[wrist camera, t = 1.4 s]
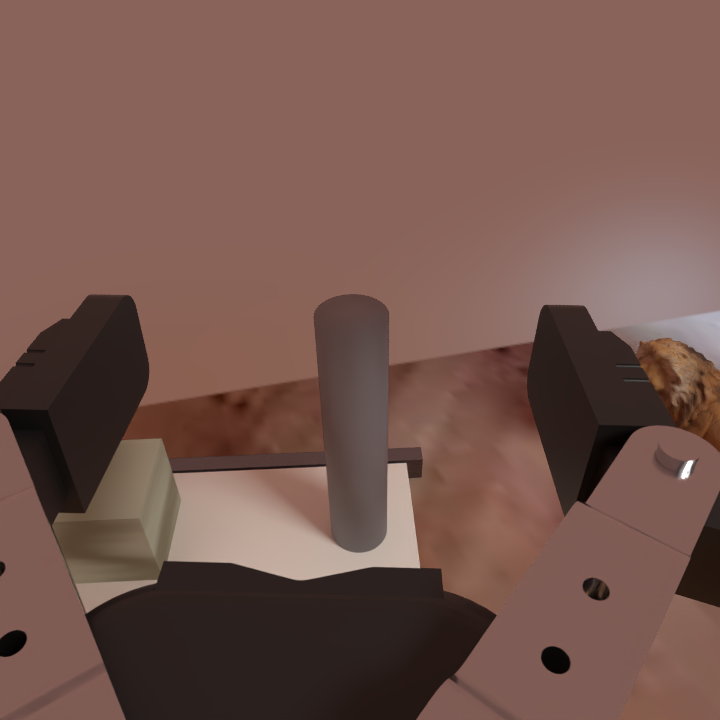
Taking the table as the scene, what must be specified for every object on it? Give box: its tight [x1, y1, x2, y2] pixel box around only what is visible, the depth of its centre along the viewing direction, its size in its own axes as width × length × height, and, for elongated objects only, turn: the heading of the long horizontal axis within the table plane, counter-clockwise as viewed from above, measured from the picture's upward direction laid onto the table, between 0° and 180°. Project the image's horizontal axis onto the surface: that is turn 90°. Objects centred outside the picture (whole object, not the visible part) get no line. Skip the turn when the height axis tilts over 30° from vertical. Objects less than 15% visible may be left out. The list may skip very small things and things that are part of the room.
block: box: [52, 438, 181, 584], centre depth 32 cm, size 5×5×5 cm
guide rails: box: [168, 447, 423, 478], centre depth 34 cm, size 16×12×2 cm
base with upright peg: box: [76, 294, 420, 613], centre depth 30 cm, size 20×9×16 cm, turn 92°
